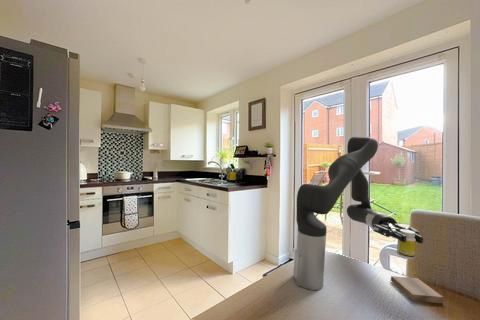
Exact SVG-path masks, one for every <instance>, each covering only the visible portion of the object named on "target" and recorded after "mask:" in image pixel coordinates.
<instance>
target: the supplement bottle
mask: <svg viewBox="0 0 480 320" xmlns="http://www.w3.org/2000/svg"><path fill="white" fill-rule="evenodd" d="M400 233H401V234H403V235H405V236H406V242H402V241H400V240H398V239H397V245H396V253H397V255H398V256H399V257H402V258H404V259H409V260H412V259H413V260H414V259H415V257H416V245H417V244H416V243H417V242H416V239H415V238H414V237H415V232H413V231H410V230H406V229H400Z"/></svg>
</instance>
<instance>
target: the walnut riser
mask: <svg viewBox="0 0 480 320" xmlns="http://www.w3.org/2000/svg"><path fill="white" fill-rule="evenodd" d="M391 281H392V282H393V283H394V284H395V285H396V286H397V287H396V286H395V285H394V284H393V283H392V282H391ZM390 282H391V283H392V284H393V285H394V286H395V287H396V288H397V289H398V290H399V291H400V292H401V293H403V295H405V296H406V297H408V299H409V300H410V301H413V302H423V303H431V304H433V303H434V304H443V303H444V296H443V295H441V294H440V293H438V292H437V291H436V290H435V289H433V288H432V287H430V286H429V285H428V284H426V283H425V282H424V281H422V280H421V279H419V278H418V277H408V276H407V277H406V276H395V275H394V276H393V275H391V276H390Z"/></svg>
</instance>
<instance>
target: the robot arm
mask: <svg viewBox="0 0 480 320" xmlns="http://www.w3.org/2000/svg"><path fill="white" fill-rule="evenodd" d="M346 147H347V150H346V151H347V153H344V154H342V155H340V156H339V157H337V158H336V159H335V160H334V161H333V162H332V163H331V165H329V168H328V172H327V173H328V179H329V182H328V183H327V184H326V185H318V184H311V183H303V184H301V186H300V187H299V188H298V191H297V194H296V224H297V233H296V234H297V235H296V236H297V237H296V249H295V250H294V258H293V260H294V261H293V278H294V281H295V285H296V286H298V287H302V288H303V289H306V290H311V291H316V290H317V291H318V290H321V289H322V288H323V287H324V280H325V279H324V275H325V262H326V261H325V260H326V245H327V225H326V224H325V223H324V222H322V220H320V219H318V217H316V215H315V214H317V215H327V214H328V213H330V212H331V211H332V209H333V208H334V206H335V205H336V203H337V202H338V200H339V198H340V196H341V195H342V193H343V192H344V190H346V188H347V186H348V185H349V184H350V183H351V186H350V187H351V188H350V189H351V191H350V195H351V199H352V200H353V201H355V202H360V203H359V204H358V203H357V204H350V205H349V206H347V208H346V215H347V216H348V217H349V218H350V220H352V221H355V222H358V223H362V224H365V225H366V226H368V227H369V228H371V229H373V232H375V233H377V234H380V235H382V236H384V237H386V238H390V237H391V238H392V239H397V241H398V240H400V241H402V242H406V236H405V235H403V234H401V233H400V229H406V230H410V231H413V232H415V237H414V238H415V239H416V243H419V244H423V243H424V237H423V236H421V235H420V231H419V230H417V229H416V228H414V227H412V226H408V227H406V226H404V225H403V226H402V225H401V224H399V223H398V222H397V220H396V219H394V218H393V217H392V216H389V215H388V214H385V213H382V212H380V211H377V210H374V209H372V206H371V204H370V203H371V202H370V199H369V188H370V187H369V181H368V179H367V177H366V176H365V174H364V172H363V171H362V168H363V167H364V166H365V164H367V163H368V162H370V161H371V160H372V159H373V158H374V156H375V155H376V153H377V152H378V148H379V142H378V141H377V139H376V138H374V137H371V136H351V138H349V139H348V143H347V146H346Z"/></svg>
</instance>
